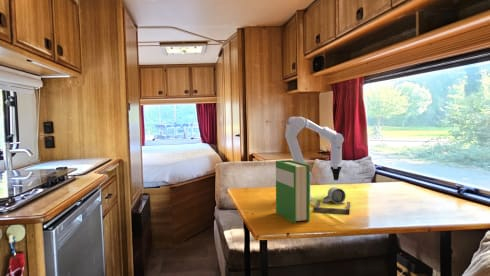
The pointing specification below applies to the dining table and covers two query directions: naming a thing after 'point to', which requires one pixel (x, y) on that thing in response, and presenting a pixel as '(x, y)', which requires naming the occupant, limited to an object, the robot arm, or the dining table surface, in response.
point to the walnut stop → (331, 209)
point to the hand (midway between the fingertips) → (336, 180)
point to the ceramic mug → (335, 195)
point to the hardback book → (293, 190)
